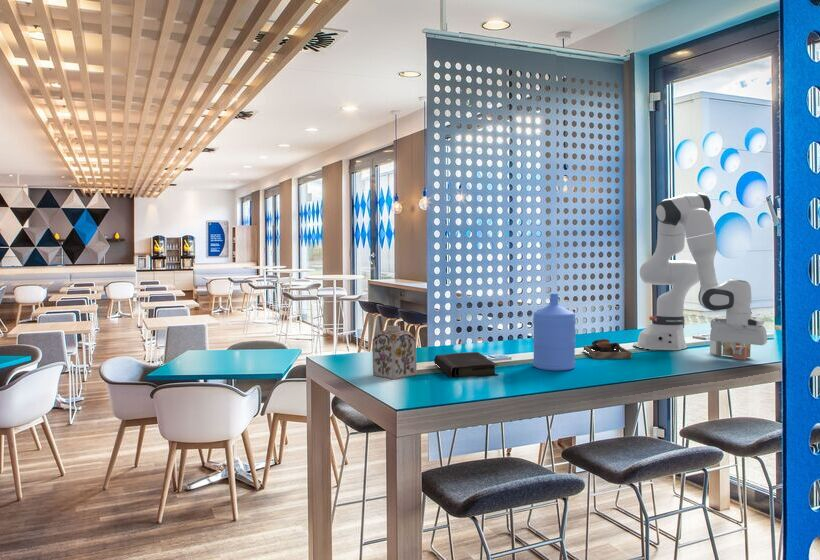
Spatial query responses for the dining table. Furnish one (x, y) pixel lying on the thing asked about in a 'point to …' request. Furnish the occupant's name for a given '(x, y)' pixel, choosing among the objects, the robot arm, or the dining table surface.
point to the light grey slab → (716, 347)
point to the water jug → (554, 337)
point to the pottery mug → (605, 346)
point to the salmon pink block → (743, 355)
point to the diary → (465, 364)
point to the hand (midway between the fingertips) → (737, 354)
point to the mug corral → (609, 354)
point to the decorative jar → (394, 354)
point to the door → (729, 351)
